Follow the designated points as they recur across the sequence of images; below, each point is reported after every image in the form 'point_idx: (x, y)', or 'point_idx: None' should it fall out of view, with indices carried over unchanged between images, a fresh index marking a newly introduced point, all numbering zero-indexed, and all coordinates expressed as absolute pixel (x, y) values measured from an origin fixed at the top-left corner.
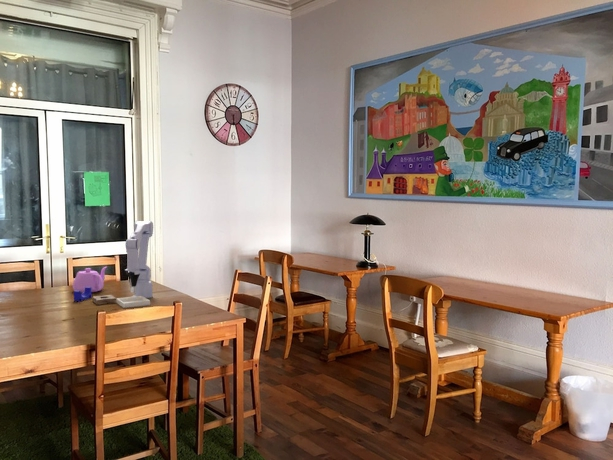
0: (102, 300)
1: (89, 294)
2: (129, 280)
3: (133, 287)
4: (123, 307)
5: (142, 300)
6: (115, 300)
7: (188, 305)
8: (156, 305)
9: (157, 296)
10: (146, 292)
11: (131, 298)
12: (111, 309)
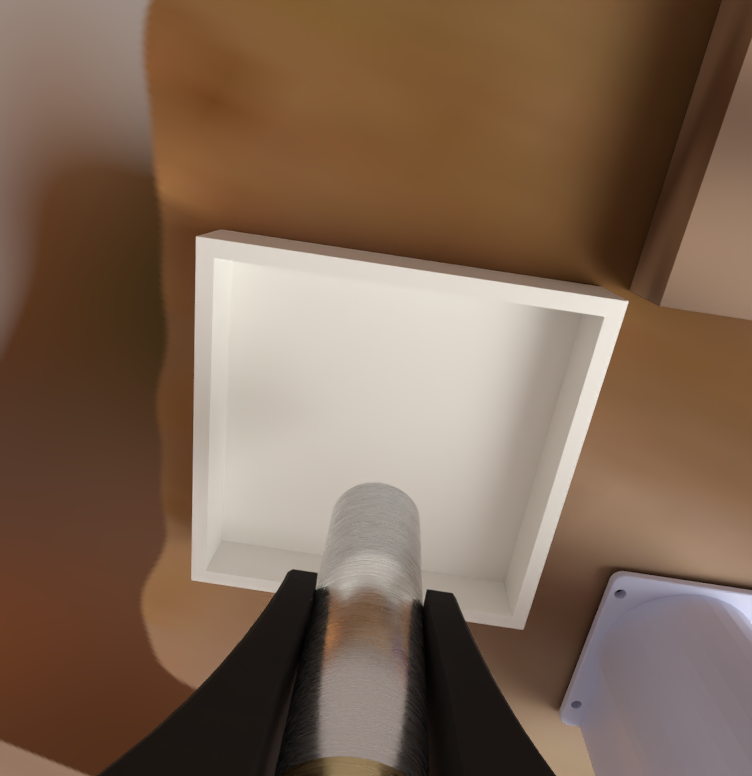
0: (737, 54)
1: None
2: (444, 681)
3: (317, 580)
4: (229, 231)
5: (453, 572)
6: (645, 288)
7: (25, 758)
8: (165, 580)
9: (571, 756)
10: (614, 725)
11: (541, 493)
12: (236, 34)
